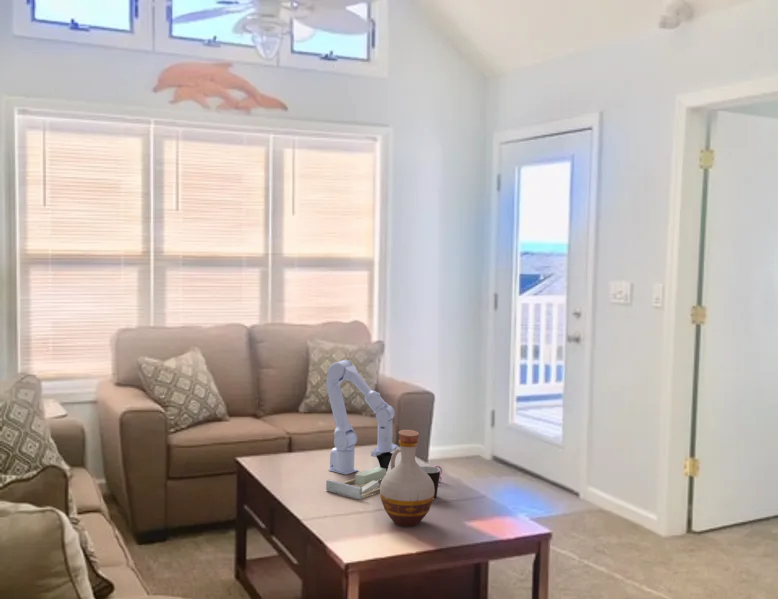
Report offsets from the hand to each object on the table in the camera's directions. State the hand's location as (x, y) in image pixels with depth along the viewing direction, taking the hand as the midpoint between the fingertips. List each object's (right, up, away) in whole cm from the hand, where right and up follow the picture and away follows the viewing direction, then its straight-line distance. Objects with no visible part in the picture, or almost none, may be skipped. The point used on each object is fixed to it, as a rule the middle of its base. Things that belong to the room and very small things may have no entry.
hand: (384, 471), depth 316 cm
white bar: (-6, -4, -19) cm, 21 cm away
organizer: (-9, -3, -18) cm, 21 cm away
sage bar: (-5, -3, -6) cm, 9 cm away
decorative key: (+13, -3, -9) cm, 16 cm away
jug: (+7, -6, -51) cm, 52 cm away
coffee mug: (+15, -4, -23) cm, 28 cm away
